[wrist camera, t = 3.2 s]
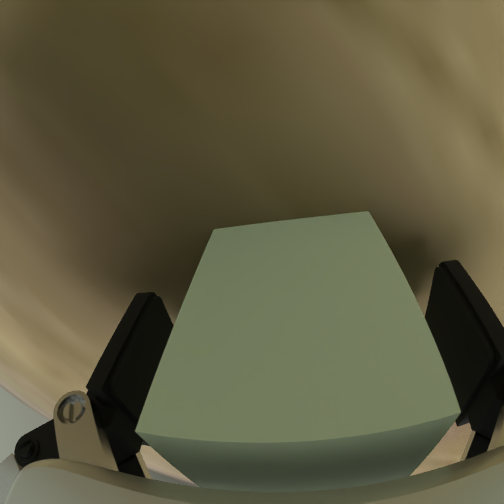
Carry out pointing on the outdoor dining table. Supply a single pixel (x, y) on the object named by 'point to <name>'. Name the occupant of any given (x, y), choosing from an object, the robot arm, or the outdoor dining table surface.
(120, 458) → the robot arm
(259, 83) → the outdoor dining table surface
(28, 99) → the outdoor dining table surface
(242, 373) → the green block
